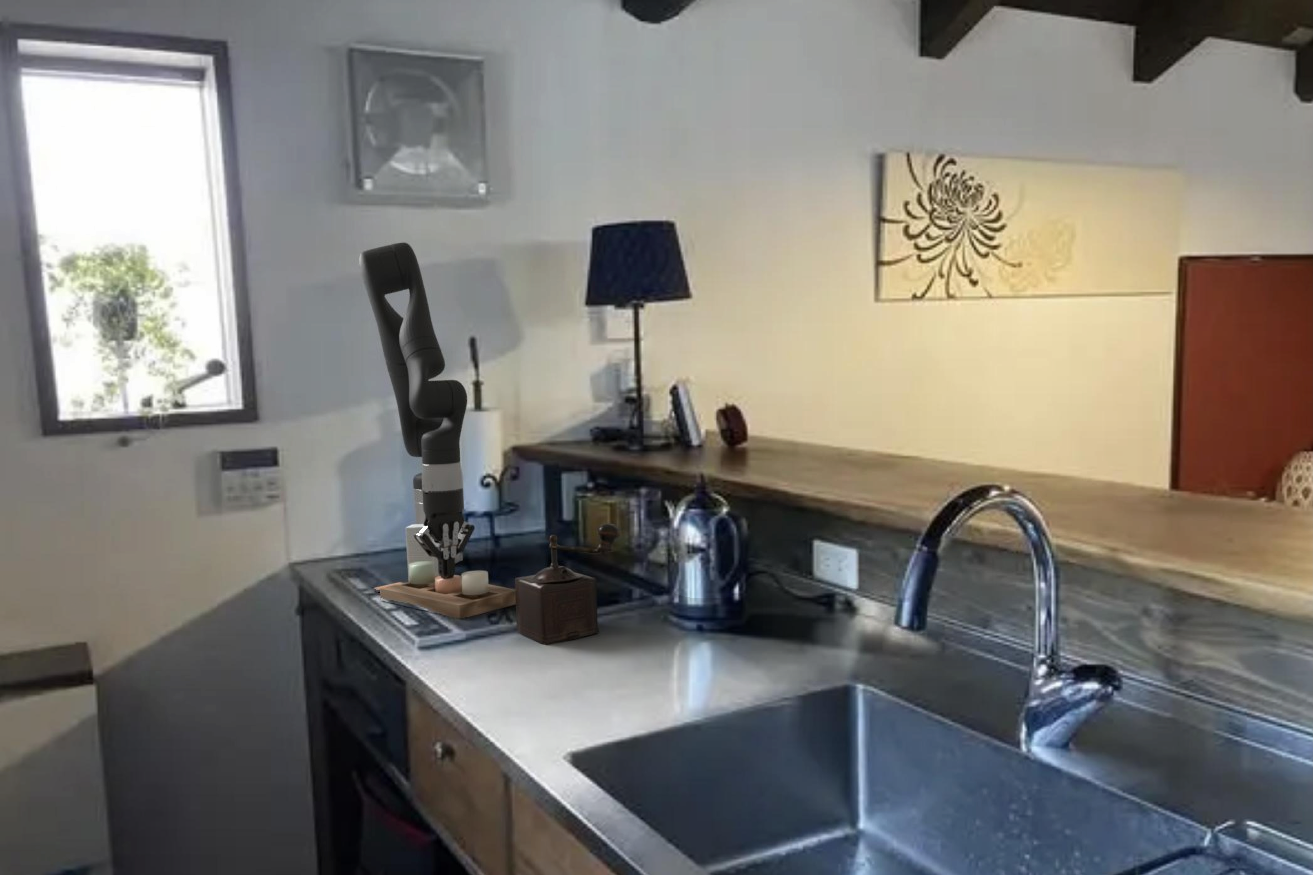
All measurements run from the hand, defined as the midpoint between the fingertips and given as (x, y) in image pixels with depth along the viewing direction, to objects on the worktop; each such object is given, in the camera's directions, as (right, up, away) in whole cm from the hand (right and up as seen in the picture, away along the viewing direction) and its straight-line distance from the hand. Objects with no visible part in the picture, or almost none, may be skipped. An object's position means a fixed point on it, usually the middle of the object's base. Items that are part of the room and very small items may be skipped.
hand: (447, 577), depth 199 cm
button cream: (+6, -2, -5) cm, 8 cm away
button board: (0, -5, +1) cm, 5 cm away
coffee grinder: (+25, -6, -22) cm, 34 cm away
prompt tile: (-13, -4, +12) cm, 18 cm away
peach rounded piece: (0, -4, 0) cm, 4 cm away
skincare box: (-8, -4, +18) cm, 20 cm away
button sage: (-6, -1, +5) cm, 8 cm away
